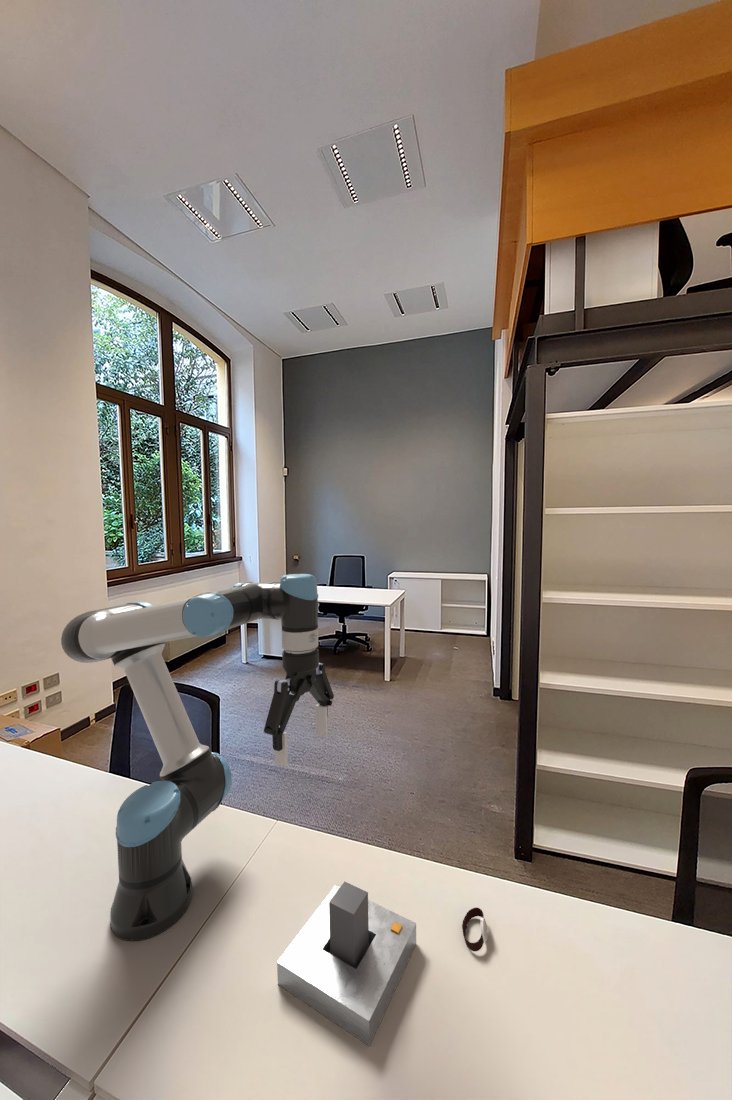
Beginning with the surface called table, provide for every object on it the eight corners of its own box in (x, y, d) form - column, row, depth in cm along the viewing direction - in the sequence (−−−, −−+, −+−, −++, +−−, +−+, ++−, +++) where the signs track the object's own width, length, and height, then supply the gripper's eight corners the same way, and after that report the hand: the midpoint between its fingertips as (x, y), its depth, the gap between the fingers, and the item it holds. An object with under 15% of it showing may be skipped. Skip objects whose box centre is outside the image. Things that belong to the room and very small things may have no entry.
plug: (330, 966, 75) (329, 902, 74) (345, 942, 79) (344, 881, 79) (354, 981, 73) (353, 914, 72) (369, 955, 77) (367, 892, 76)
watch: (486, 958, 76) (486, 939, 76) (459, 950, 78) (459, 931, 78) (488, 921, 84) (488, 903, 84) (464, 914, 85) (464, 897, 85)
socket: (277, 984, 73) (277, 960, 72) (336, 902, 88) (335, 882, 88) (369, 1046, 64) (368, 1019, 63) (416, 943, 79) (416, 921, 79)
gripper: (273, 669, 75) (276, 784, 76) (347, 637, 97) (349, 727, 98) (242, 663, 79) (246, 773, 80) (321, 633, 101) (322, 720, 102)
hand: (302, 748), depth 89 cm, fingers open, 13 cm apart
